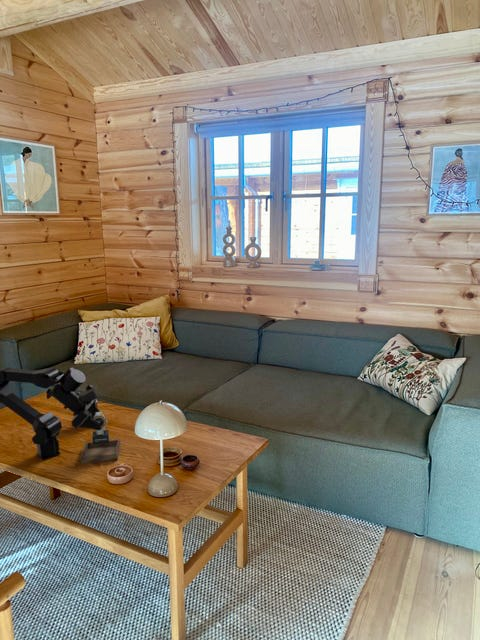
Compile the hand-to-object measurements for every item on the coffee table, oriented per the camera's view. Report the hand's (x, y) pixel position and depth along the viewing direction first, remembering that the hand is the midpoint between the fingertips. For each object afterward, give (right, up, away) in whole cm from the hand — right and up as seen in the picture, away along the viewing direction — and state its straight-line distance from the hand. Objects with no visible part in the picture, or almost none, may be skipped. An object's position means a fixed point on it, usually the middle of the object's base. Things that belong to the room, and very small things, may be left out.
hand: (102, 424), depth 170 cm
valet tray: (-1, -12, +2) cm, 12 cm away
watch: (-1, -7, +1) cm, 7 cm away
